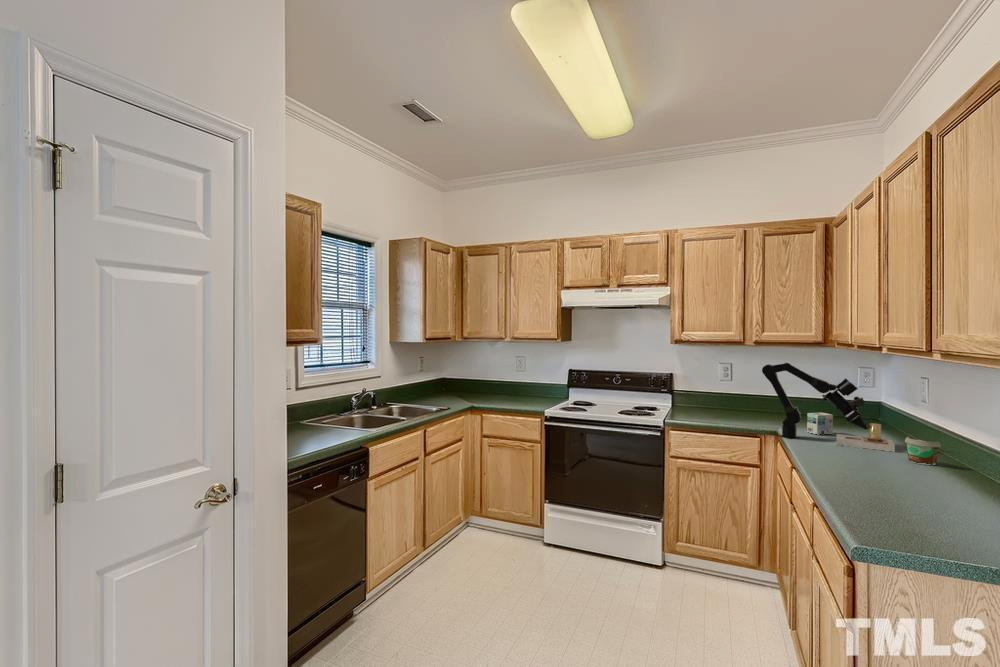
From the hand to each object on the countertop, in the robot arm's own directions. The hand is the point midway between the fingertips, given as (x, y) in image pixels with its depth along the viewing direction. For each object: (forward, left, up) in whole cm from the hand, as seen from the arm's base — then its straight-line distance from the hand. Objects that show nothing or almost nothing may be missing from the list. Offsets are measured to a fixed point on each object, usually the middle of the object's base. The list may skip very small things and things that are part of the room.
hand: (866, 427), depth 239 cm
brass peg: (+2, -3, -9) cm, 10 cm away
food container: (-11, -27, -9) cm, 31 cm away
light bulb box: (+7, +27, -9) cm, 29 cm away
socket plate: (0, +1, -9) cm, 9 cm away
